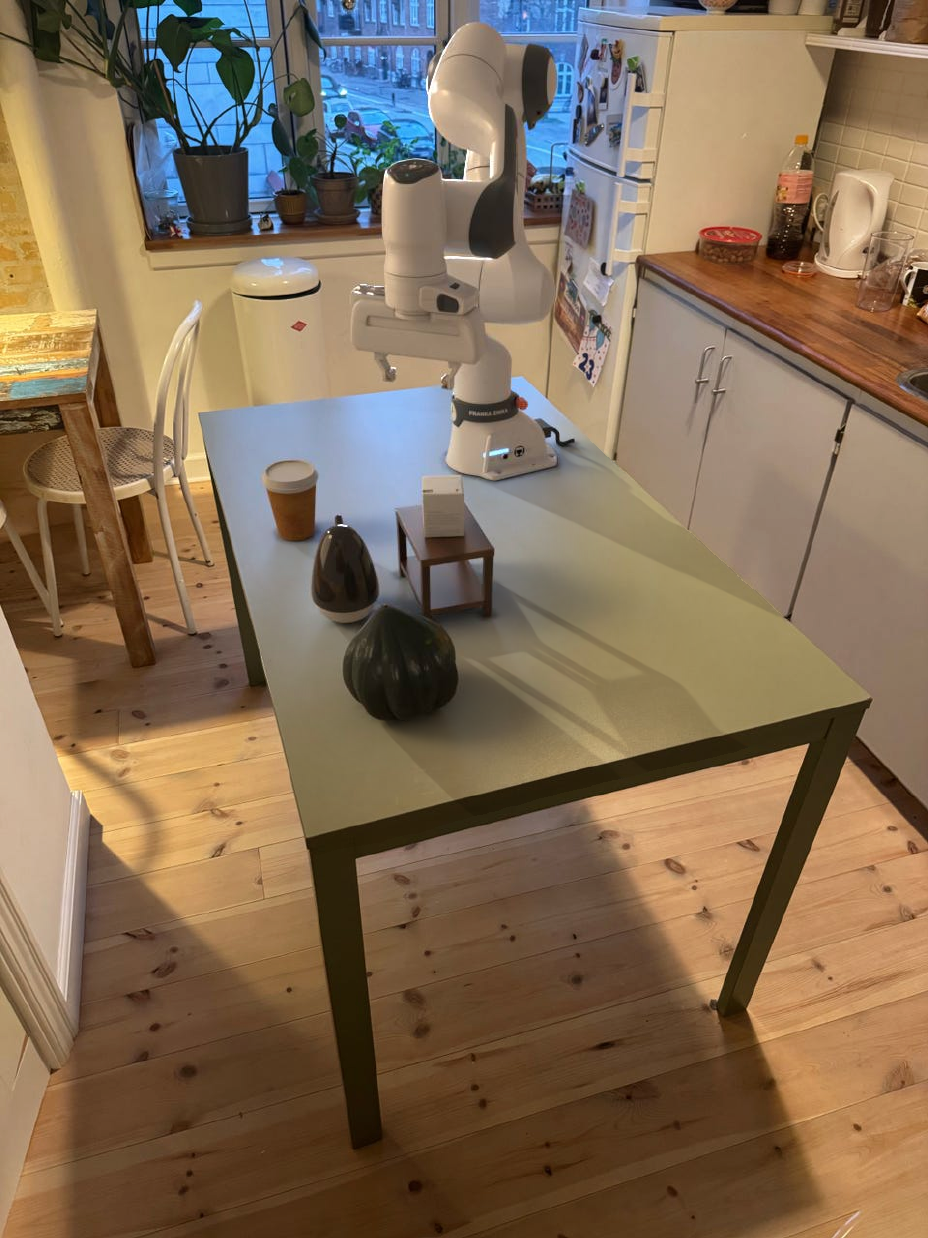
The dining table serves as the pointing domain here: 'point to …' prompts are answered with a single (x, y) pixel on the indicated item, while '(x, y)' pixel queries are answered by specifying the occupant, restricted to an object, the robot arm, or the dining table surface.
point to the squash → (400, 664)
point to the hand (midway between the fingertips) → (418, 384)
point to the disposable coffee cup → (292, 497)
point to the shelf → (445, 564)
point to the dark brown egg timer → (344, 575)
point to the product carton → (443, 506)
